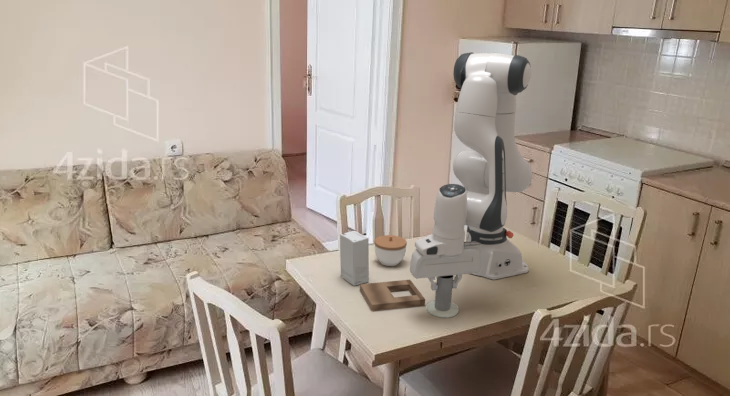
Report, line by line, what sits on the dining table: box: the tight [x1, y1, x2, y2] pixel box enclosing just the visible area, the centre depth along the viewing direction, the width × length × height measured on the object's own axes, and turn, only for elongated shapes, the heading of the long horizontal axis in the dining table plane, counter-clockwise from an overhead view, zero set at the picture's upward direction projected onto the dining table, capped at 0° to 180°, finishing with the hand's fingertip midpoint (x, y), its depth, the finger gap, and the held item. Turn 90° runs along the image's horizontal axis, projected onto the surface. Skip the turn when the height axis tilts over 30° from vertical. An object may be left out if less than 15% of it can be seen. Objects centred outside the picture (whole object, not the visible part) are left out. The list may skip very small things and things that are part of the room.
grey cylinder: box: [434, 275, 454, 311], centre depth 168 cm, size 4×4×10 cm
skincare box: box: [339, 230, 370, 287], centre depth 185 cm, size 8×6×15 cm
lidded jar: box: [374, 234, 408, 267], centre depth 199 cm, size 11×11×9 cm
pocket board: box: [359, 279, 426, 312], centre depth 176 cm, size 16×13×2 cm
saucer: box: [426, 299, 459, 319], centre depth 170 cm, size 9×9×1 cm
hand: (443, 288), depth 168 cm, fingers closed on grey cylinder, 5 cm apart
